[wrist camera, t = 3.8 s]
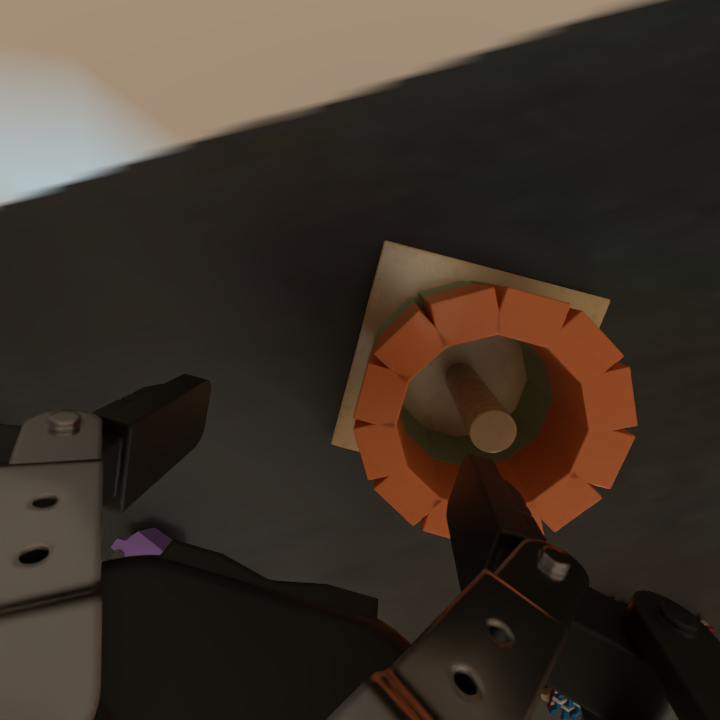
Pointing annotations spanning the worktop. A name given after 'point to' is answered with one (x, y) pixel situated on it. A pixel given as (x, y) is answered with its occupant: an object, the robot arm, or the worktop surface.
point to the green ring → (525, 415)
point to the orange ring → (559, 430)
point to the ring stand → (452, 352)
